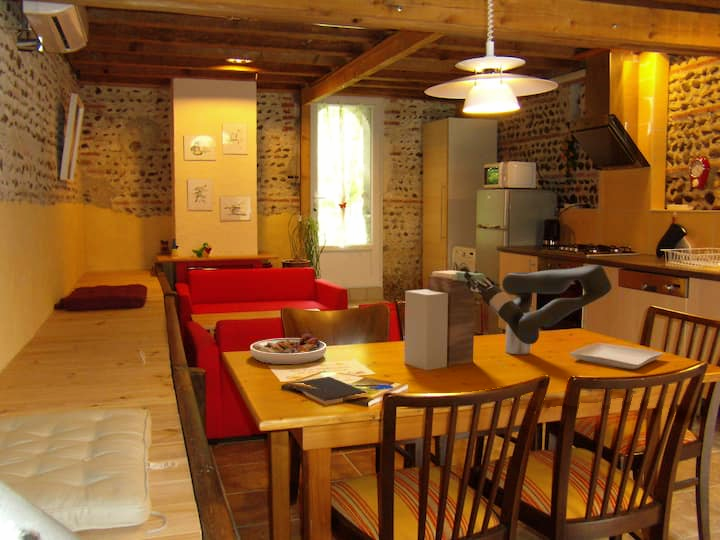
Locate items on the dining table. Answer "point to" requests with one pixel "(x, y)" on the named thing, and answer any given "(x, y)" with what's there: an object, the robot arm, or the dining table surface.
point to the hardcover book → (328, 390)
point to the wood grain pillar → (457, 318)
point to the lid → (457, 275)
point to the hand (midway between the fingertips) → (469, 273)
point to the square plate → (616, 355)
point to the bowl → (288, 350)
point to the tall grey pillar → (426, 329)
